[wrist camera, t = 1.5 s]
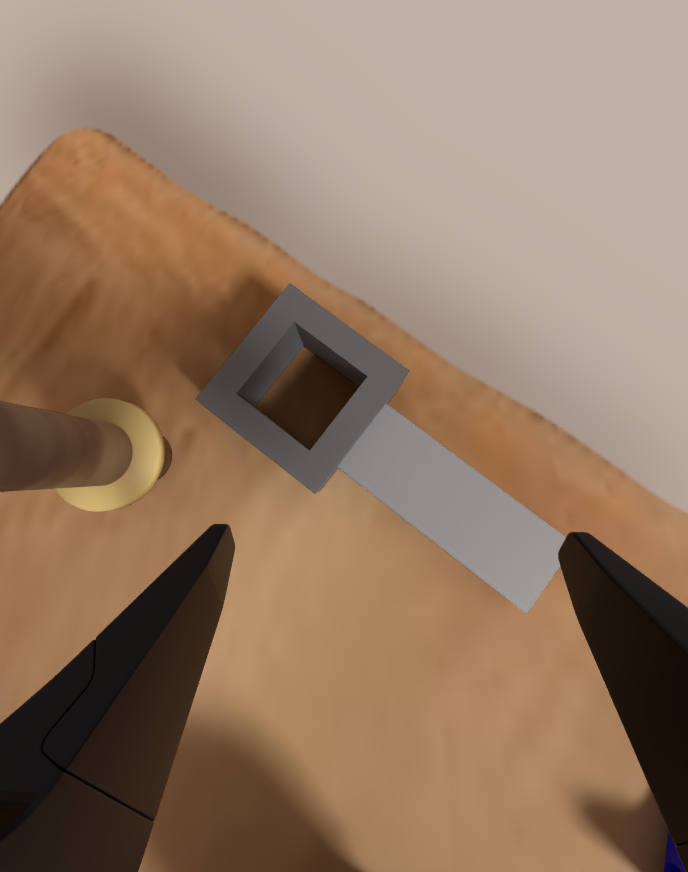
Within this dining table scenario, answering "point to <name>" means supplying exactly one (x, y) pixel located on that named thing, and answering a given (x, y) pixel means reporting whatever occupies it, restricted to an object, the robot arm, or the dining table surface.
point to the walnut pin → (83, 452)
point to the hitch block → (381, 448)
